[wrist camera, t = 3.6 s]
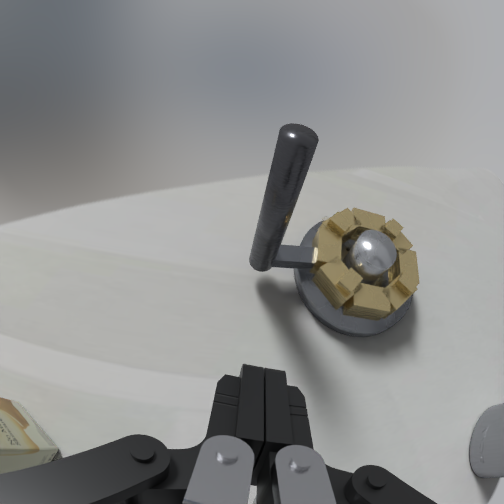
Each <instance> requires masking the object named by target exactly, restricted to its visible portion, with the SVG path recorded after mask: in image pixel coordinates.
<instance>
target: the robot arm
mask: <svg viewBox="0 0 504 504" xmlns="http://www.w3.org/2000/svg"><path fill="white" fill-rule="evenodd" d="M307 416H308V414H307V409H306V402H305V397H304V395H303V394H302V393H301V391H300V390H299V389H298V387H295V386H288V385H287V380H286V372H285V371H281V370H275V369H269V368H263V367H257V366H252V365H247V364H243V365H242V368H241V372H240V376H239V377H235V376H231V375H226V374H225V375H224V376H223V377H222V378H221V379H220V380H219V381H218V383H217V387H216V392H215V397H214V402H213V406H212V411H211V416H210V421H209V425H208V430H207V434H206V437H205V439H204V440H203V441H202V442H201V443H200V444H199V445H197V446H195V447H192V448H188V449H167V447H166V446H165V445H164V444H163V443H162V442H160V441H159V440H157V439H155V438H153V437H151V436H147V435H140V434H137V435H130V436H126V437H124V438H121V439H119V440H116V441H113V442H110V443H108V444H105V445H102V446H99V447H96V448H93V449H91V450H88V451H85V452H81V453H78V454H75V455H72V456H69V457H65V458H62V459H59V460H55V461H52V462H48V463H45V464H41V465H37V466H33V467H29V468H25V469H21V470H16V471H12V472H7V473H3V474H0V504H248V498H249V491H250V485H254V486H257V495H256V497H255V499H254V501H253V504H437V503H435V502H434V501H432V500H431V499H429V498H428V497H426V496H424V495H423V494H421V493H420V492H418V491H417V490H415V489H414V488H412V487H411V486H409V485H408V484H406V483H405V482H403V481H402V480H400V479H399V478H397V477H396V476H395V475H393V474H392V473H390V472H389V471H388V470H386V469H384V468H382V467H379V466H375V465H366V466H362V467H360V468H359V469H357V470H356V471H355V472H354V473H350V472H346V471H342V470H338V469H335V468H332V467H330V466H328V465H326V464H325V462H324V460H323V458H322V457H321V455H320V454H319V453H317V452H316V451H315V450H314V449H313V443H312V437H311V431H310V425H309V420H308V418H307ZM470 463H471V466H472V469H473V471H474V473H475V474H476V475H478V476H479V477H482V478H493V477H504V403H503V404H499V405H495V406H492V407H490V408H488V409H487V410H486V411H485V412H484V413H483V414H482V416H481V417H480V419H479V420H478V422H477V424H476V426H475V429H474V431H473V435H472V438H471V443H470Z"/></svg>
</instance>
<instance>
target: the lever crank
mask: <svg viewBox="0 0 504 504" xmlns="http://www.w3.org/2000/svg"><path fill="white" fill-rule="evenodd" d="M317 143H318V136H317V135H316V133H315V132H314V131H313V130H312V129H310V128H308V127H306V126H304V125H300V124H286V125H284V126H283V127H282V128H281V129H280V132H279V136H278V140H277V144H276V149H275V153H274V157H273V161H272V165H271V170H270V174H269V178H268V182H267V186H266V190H265V195H264V199H263V203H262V207H261V211H260V216H259V220H258V224H257V228H256V233H255V237H254V241H253V245H252V249H251V254H250V258H249V262H250V265H251V266H252V267H253V268H254V269H255V270H257V271H262V272H263V271H267V270H269V269H271V267H281V268H297V269H310V272H309V273H312V274H315V276H314V277H313V279H312V281H313V282H314V283H315V285H316V286H317V287H318V288H319V290H320V291H321V292H322V293H323V295H324V296H325V297H326V299H327V300H328V301H329V302H330V304H331V305H332V306H333V307H334V309H335V310H338V309H339V308H340V307H342V306H343V315H346V316H352V317H357V318H363V319H369V320H375V321H378V320H380V319H381V318H383V319H385V318H386V317H388V316H389V315H390V314H392V313H393V312H395V311H396V310H397V309H398V308H399V307H400V306H401V305H402V304H403V303H404V302H405V301H406V300H407V299H408V298H409V297H410V296H411V295H412V294H413V293H414V292H415V291H416V290H417V288H416V286H417V285H418V284H419V275H418V266H417V257H416V252H415V251H411V250H409V249H410V248H411V247H412V246H413V245H412V244H411V243H410V242H409V241H408V239H407V238H406V237H405V236H404V235H403V234H402V233H401V230H402V229H403V227H402V226H401V225H400V224H399V223H398V222H397V221H395V220H394V219H392V221H391V220H390V221H388V222H387V223H385V216H381V215H378V214H374V213H371V212H367V211H364V210H360V209H357V208H353V210H352V211H350V210H349V209H348V208H347V209H345V210H343V211H341V212H340V213H339V212H337V213H336V214H335V215H334V216H332V217H330V218H329V219H327V220H325V221H323V222H322V224H321V226H320V227H319V229H318V231H317V233H316V235H315V237H314V239H313V241H312V247H304V246H290V245H281V242H282V240H283V237H284V234H285V232H286V229H287V226H288V224H289V221H290V218H291V216H292V213H293V210H294V207H295V205H296V202H297V199H298V197H299V194H300V191H301V188H302V186H303V183H304V180H305V177H306V175H307V172H308V169H309V166H310V163H311V161H312V158H313V155H314V152H315V149H316V146H317ZM366 230H377V231H380V232H382V233H384V234H385V235H387V236H388V237H389V238H390V239H391V241H392V242H393V244H394V245H395V248H396V252H397V257H396V261H395V262H394V264H393V265H392V266H391V267H390V268H389V269H388V282H389V285H388V286H387V287H386V288H383V287H378V286H373V285H369V284H364V283H360V282H361V280H362V279H363V278H362V277H361V276H360V275H359V274H358V273H357V272H356V271H355V270H353V269H352V268H350V269H348V268H347V267H346V265H345V264H344V263H343V262H342V261H341V249H342V244H344V243H345V242H347V241H348V240H354V241H357V239H358V238H359V236H360V235H361V234H362V233H363V232H364V231H366Z"/></svg>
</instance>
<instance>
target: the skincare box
mask: <svg viewBox="0 0 504 504" xmlns="http://www.w3.org/2000/svg"><path fill="white" fill-rule="evenodd" d="M58 450H59V449H58V447H57V446H56V445H55V444H54V443H53V442H52V440H51V439H50V438H49V437H48V436H47V435H46V434H45V432H44V431H43V430H42V429H41V428H40V427H39V426H38V424H37V423H36V422H35V421H34V420H33V419H32V417H31V416H30V415H29V414H28V413H27V412H26V410H25V409H24V408H23V407H22V406H21V404H20V403H19V402H16V401H12V400H8V399H4V398H0V474H3V473H7V472H12V471H16V470H21V469H25V468H29V467H33V466H37V465H41V464H45V463H48V462H51V460H52V459H53V458H54V456H55V455H56V453H57V452H58Z"/></svg>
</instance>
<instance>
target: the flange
mask: <svg viewBox="0 0 504 504" xmlns="http://www.w3.org/2000/svg"><path fill="white" fill-rule="evenodd" d="M327 219H328V217H327V216H326V217H324V218H322V220H323V221H325V220H327ZM323 221H321V222H319V223H318V224H316V225H315V226H313V227H312V228H311V229H310V230H309V231H308V232H307V234H306V235H305V237H304V238H303V240H302V242H301V244H300V246H304V247H312V241H313V239H314V237H315V235H316V233H317V231H318V229H319V227H320V226H321V224H322V222H323ZM396 257H397V252H396V248H395V245H394V244H393V242H392V241H391V239H390V238H389V237H388V236H387V235H385V234H384V233H382V232H380V231H377V230H366V231H364V232H363V233H362V234H361V235H360V236H359V238H358V239H357V241H354V240H348V241H347V242H345V243H344V244H342V249H341V261H342V262H343V263H344V264H345V265H346V267H347V268H348V269H350V268H352V269H353V270H355V271H356V272H357V273H358V274H359V275H360V276H361V277H362V278H363V279H362V280H361V282H360V283H364V284H369V285H373V286H378V287H383V288H386V287H387V286H388V285H389V282H388V269H389V268H390V267H391V266H392V265H393V264H394V262H395V261H396ZM309 272H310V269H297V268H294V277H295V282H296V286H297V289H298V292H299V294H300V296H301V298H302V300H303V302H304V304H305V305H306V307H307V308H308V309H309V311H310V312H311V313H312V314H313V315H314V316H315V317H316V318H317V319H318V320H319V321H320V322H322V323H323V324H324V325H326V326H327V327H329V328H331V329H333V330H335V331H337V332H339V333H342V334H345V335H349V336H356V337H366V336H372V335H376V334H378V333H381V332H383V331H385V330H386V329H388V328H389V327H391V326H393V325H394V324H395V323H397V322H398V321H399V320H400V319H401V318H402V317H403V316H404V314H405V313H406V311H407V310H408V308H409V305H410V303H411V300H412V296H413V294H412V295H411V296H410V297H409V298H408V299H407V300H406V301H405V302H404V303H403V304H402V305H401V306H400V307H399V308H398V309H397V310H396V311H395V312H393V313H392V314H390V315H389V316H388V317H386V318H385V319H383V318H381V319H380V320H378V321H375V320H369V319H363V318H357V317H352V316H346V315H343V306H342V307H340V308H339V309H338V310H335V309H334V307H333V306H332V305H331V304H330V302H329V301H328V300H327V299H326V297H325V296H324V295H323V293H322V292H321V291H320V290H319V288H318V287H317V286H316V285H315V283H314V282H313V281H312V279H313V277H314V276H315V274H312V273H309Z"/></svg>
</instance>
